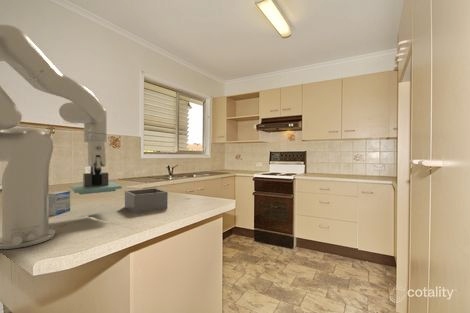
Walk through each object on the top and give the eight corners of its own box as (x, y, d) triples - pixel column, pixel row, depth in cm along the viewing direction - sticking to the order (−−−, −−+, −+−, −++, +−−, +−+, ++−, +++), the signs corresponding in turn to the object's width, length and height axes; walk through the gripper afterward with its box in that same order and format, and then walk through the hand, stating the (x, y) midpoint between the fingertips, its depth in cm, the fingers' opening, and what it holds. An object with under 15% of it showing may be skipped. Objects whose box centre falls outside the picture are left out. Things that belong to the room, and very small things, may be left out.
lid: (121, 191, 86) (121, 173, 86) (74, 195, 76) (74, 175, 76) (112, 186, 98) (112, 171, 98) (70, 190, 88) (70, 172, 88)
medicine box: (55, 215, 87) (55, 193, 87) (44, 215, 87) (44, 193, 87) (70, 210, 95) (70, 190, 95) (60, 210, 95) (60, 190, 95)
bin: (167, 209, 97) (167, 191, 97) (134, 215, 88) (134, 195, 88) (155, 204, 108) (155, 188, 108) (124, 208, 98) (124, 191, 98)
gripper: (111, 137, 83) (111, 185, 83) (102, 139, 96) (102, 181, 96) (87, 136, 78) (87, 187, 78) (81, 139, 91) (81, 182, 91)
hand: (95, 183), depth 87 cm, fingers closed on lid, 4 cm apart
